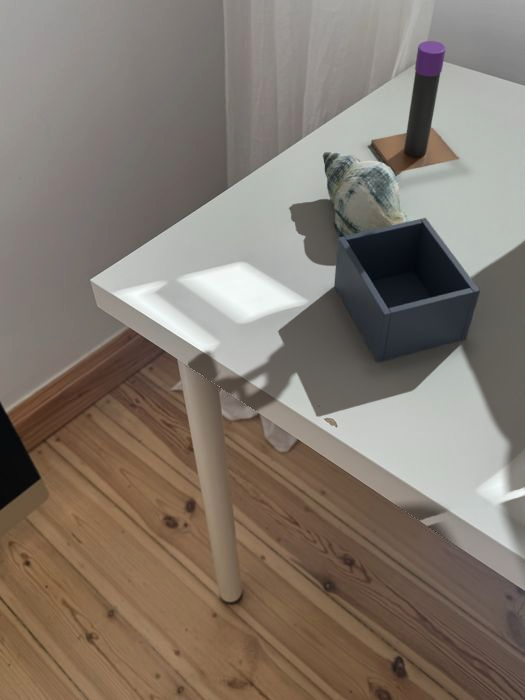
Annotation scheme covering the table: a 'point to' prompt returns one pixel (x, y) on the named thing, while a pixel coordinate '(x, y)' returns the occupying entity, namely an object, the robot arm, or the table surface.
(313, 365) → the table surface
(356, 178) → the seashell
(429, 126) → the marker
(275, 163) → the table surface
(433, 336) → the bin
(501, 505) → the table surface
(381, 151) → the coaster
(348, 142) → the table surface
